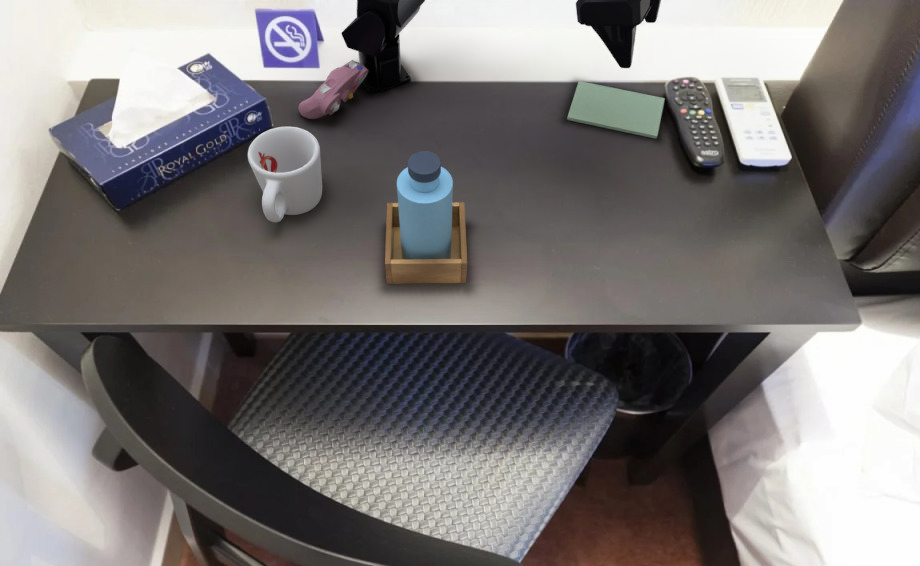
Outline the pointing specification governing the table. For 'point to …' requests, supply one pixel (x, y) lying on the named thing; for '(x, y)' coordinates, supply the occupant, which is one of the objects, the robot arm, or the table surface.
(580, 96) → the mat
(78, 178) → the table surface
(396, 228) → the open wooden box
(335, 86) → the pink toy car
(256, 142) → the cup
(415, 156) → the bottle
